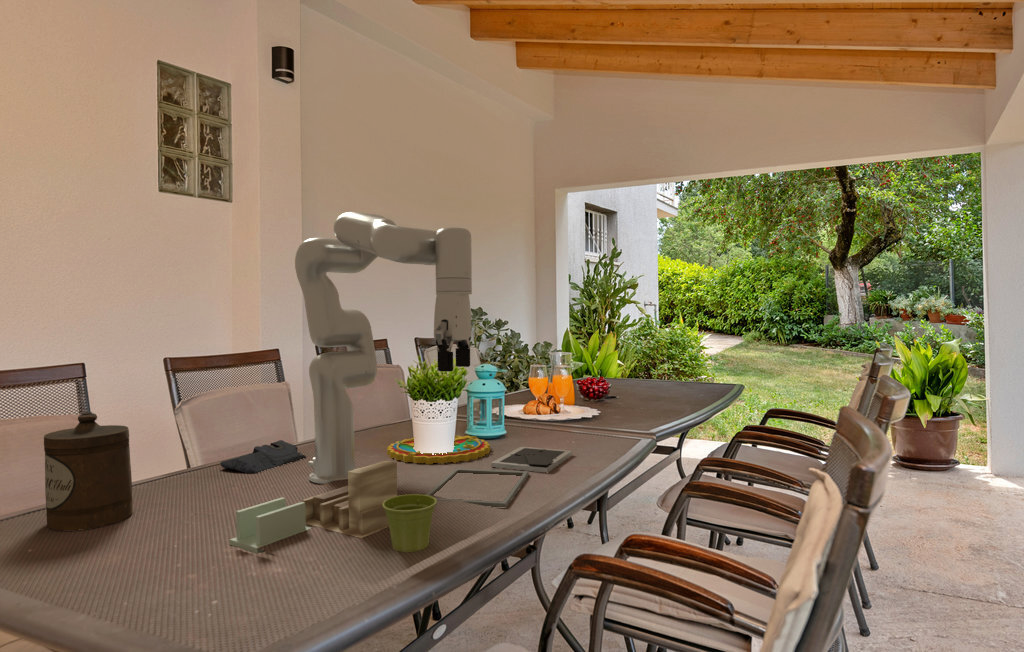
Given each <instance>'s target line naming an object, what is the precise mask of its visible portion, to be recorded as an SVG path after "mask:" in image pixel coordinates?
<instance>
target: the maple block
mask: <svg viewBox="0 0 1024 652" xmlns="http://www.w3.org/2000/svg"><path fill="white" fill-rule="evenodd" d="M397 462H398V461H390V460H384V461H380V462H379V461H378V462H375V463H372V464H370V465H366V466H363V467H359V468H356V469H355V470H351V471H348V480H347V486H348V501H349V530H353V531H357V532H359V521H358V513H360V512H362V511H365V510H368V509H371V508H373V507H376V506H379V505H381V504H383V502H384V501H385V500H387V499H389V498H392V497H395V496H398V467H397V466H398V464H397Z"/></svg>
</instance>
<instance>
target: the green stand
mask: <svg viewBox="0 0 1024 652" xmlns="http://www.w3.org/2000/svg"><path fill="white" fill-rule="evenodd" d="M286 501H287V499H286V497H283V496H281V497H278V498H275V499H272V500H270V501H266V502H262V503H259V504H256V505H253V506H249V507H246V508H243V509H239V510H235V520H236V521H235V522H236V523H235V524H236V525H235V526H236V537H232V538H230V539H229V546H231V545H232V546H231V547H234V546H235V547H234V548H238V549H241V548H242V550H244V551H248V552H250V553H255V554H258V555H259V554H260V553H263V552H265V550H263V549H261V548H262V547H265V546H267V545H271V544H273V543H275V542H278V541H280V540H284V539H286V538H289V537H292V536H295V535H298V534H300V533H302V532H306V531H308V530H311V529H312V527H311V526H308V525H307V524H306V517H305V502H302V501H299V502H297V503H293V504H291V505H287V503H286Z"/></svg>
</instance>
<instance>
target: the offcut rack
mask: <svg viewBox="0 0 1024 652" xmlns="http://www.w3.org/2000/svg"><path fill="white" fill-rule="evenodd" d="M346 486H347V485H344V486H342V487H340V488H343V487H346ZM340 488H336V489H332V490H330V491H333V490H337V489H340ZM330 491H327V492H330ZM327 492H324V493H327ZM324 493H323V492H322V493H321V494H324ZM321 494H317V495H313V496H310V497H307V498H304V499H301V502H305V517H306V525H307V526H308V525H309V526H314V527H316V528H321V529H324V530H328V531H332V532H336V533H340V534H344V535H348V536H351V537H355V538H359V539H363V538H365V537H367V536H370V535H372V534H375V533H377V532H380V531H382V530H384V529H387V528H389V523H388V517H387V515H386V512H385V509H384V508H383V506H382V504H381V505H379V506H376V507H373V508H371V509H368V510H365V511H362V512H360V513H358V521H359V532H357V531H353V530H349V505H347V506H344V507H342V508H339V524H335V523H334V505H336V504H339V503H342V502H345V501H348V495H346V496H343V497H340V498H337V499H334V500H331V501H328V502H325V503H322V504H320V521H318V520H314V502H313V497H314V496H318V495H321Z"/></svg>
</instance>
